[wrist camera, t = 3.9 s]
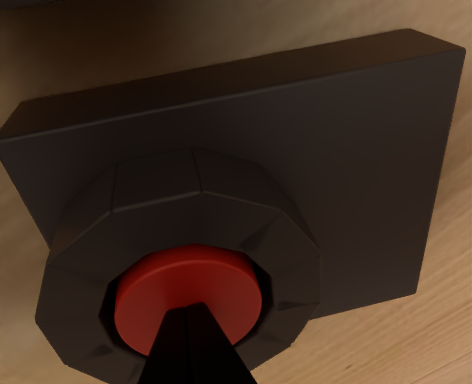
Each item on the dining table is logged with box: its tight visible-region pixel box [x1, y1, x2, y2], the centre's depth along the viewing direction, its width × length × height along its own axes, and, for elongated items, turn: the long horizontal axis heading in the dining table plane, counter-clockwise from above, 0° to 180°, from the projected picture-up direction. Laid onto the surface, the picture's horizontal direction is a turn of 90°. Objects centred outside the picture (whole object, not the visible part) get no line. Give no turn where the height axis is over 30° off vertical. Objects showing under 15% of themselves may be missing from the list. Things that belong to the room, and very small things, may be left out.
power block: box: [0, 29, 466, 384], centre depth 10 cm, size 10×8×4 cm
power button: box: [114, 243, 262, 356], centre depth 9 cm, size 3×3×2 cm
